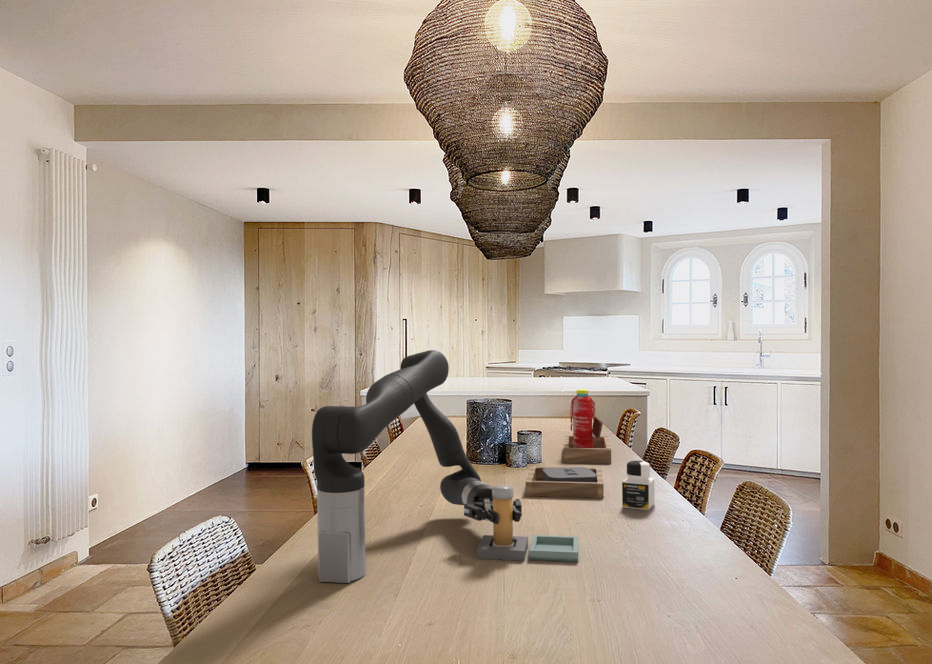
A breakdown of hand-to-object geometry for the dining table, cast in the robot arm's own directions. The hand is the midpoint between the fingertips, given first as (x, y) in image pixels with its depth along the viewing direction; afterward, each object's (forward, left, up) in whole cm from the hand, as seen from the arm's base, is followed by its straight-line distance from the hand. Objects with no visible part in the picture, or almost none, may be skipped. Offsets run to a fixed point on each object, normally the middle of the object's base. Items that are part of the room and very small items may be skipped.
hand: (507, 518), depth 146 cm
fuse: (+2, +1, -8) cm, 8 cm away
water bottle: (+119, -18, -8) cm, 121 cm away
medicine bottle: (+45, -31, -8) cm, 55 cm away
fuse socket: (+2, +1, -8) cm, 8 cm away
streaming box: (+64, -12, -8) cm, 65 cm away
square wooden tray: (+64, -11, -8) cm, 66 cm away
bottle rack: (+119, -18, -8) cm, 121 cm away
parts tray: (+3, -10, -8) cm, 13 cm away
